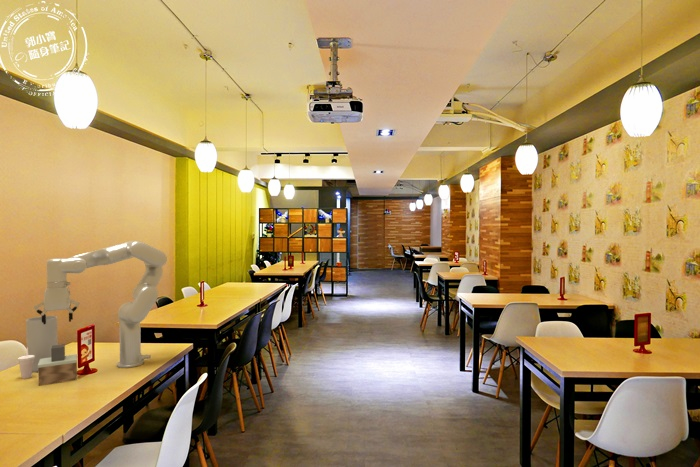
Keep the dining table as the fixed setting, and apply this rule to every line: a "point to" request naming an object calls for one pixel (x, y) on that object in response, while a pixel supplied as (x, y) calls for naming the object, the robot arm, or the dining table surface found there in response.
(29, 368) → the smoothie
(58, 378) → the wooden box
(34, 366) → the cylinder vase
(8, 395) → the dining table surface
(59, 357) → the lid
